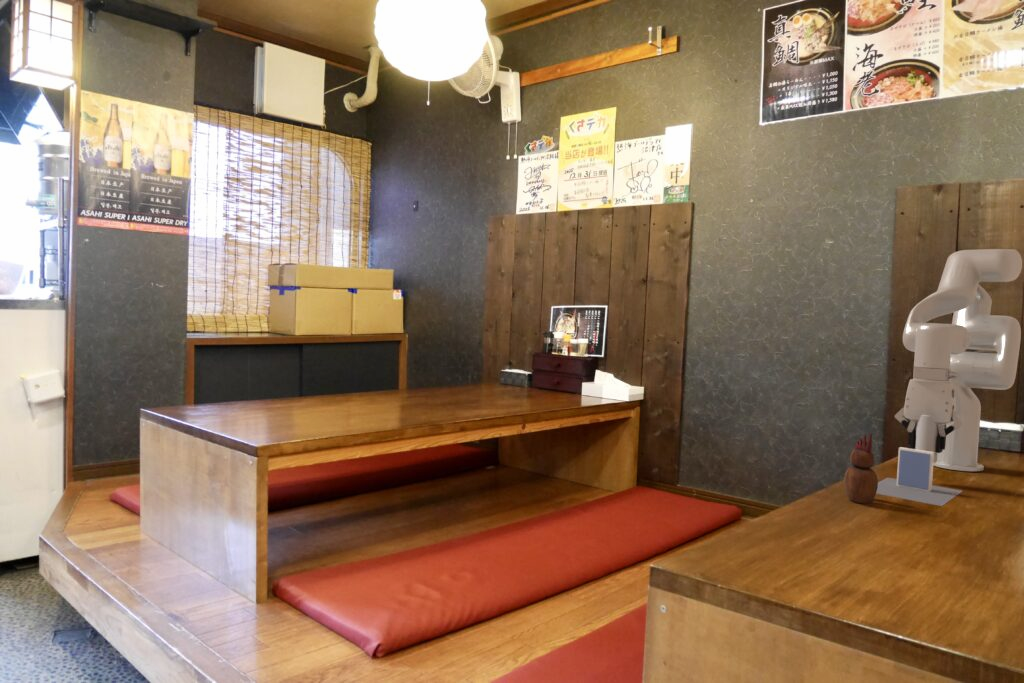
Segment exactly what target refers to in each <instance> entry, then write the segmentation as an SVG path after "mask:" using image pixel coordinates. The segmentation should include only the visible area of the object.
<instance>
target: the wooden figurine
mask: <svg viewBox="0 0 1024 683" xmlns="http://www.w3.org/2000/svg"><path fill="white" fill-rule="evenodd" d="M872 442H873V434H872V433H870V434H869V436H868V439H867V435H866V434H864V435H863V438H860V439H859V441H856V442H855V446H854V449H853V450H852V451H851V453H850V456H849V459H850V460H849V461H850V463H851V466H849V467H848V468H847V470H845V473H844V478H843V484H844V490H845V493H846V496H847V498H848V499H849V500H850V501H851V502H854V503H857V504H870V503H871V502H873V501H874V499H875V497H876V495H877V494H876V492H877V487H878V482H879V481H878V476H877V473H876V472H875V470H874V469H873V468H872V467H874V464H875V454H874V453H873V451H872V445H873V444H872Z"/></svg>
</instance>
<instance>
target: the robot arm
mask: <svg viewBox="0 0 1024 683" xmlns="http://www.w3.org/2000/svg"><path fill="white" fill-rule="evenodd" d="M1022 270H1023V259H1022V256H1021V253H1020V252H1019V251H1018V250H1017V249H1014V248H1012V249H1011V248H1009V249H1007V248H1006V249H1005V248H1004V249H1003V248H989V249H988V248H987V249H986V248H985V249H983V248H981V249H962V250H958V251H954V252H953V253H951V254H949V255H948V257H947V259H946V262H945V265H944V269H943V272H942V274H941V279H940V281H939V284H938V288H937V290H936V291H935V292H933V293H931V294H929V295H928V296H926V297H925V298H924V299H922V300H921V301H919V302H918V303H917V304H916V305H915V306H914V307H913V308H912V309H911V310H910V312H909V314H908V317H907V320H906V322H905V326H904V329H903V333H902V344H903V346H904V348H905V349H906V350H908V351H910V352H913V353H914V358H913V359H914V361H913V370H912V371H913V374H912V378H911V379H909V381H908V385H907V389H906V393H905V394H906V395H905V398H904V400H905V401H904V405H903V407H902V408H901V409H900V410H899V411H897V412H896V414H894V418H895V419H896V420H897V421H898V422H899V423H900V424H901V425H902V426H903V427H904V428H905V430H906V431H907V432H908V441H907V442H908V443H907V444H908V446H910V449H915V437H916V422H917V421H918V420H920V417H921V415H928V416H931V418H932V421H933V422H934V423H937V425H938V430H939V436H937V443H936V452H937V453H938V455H937V461H936V462H935V463H933V467H938V468H942V469H947V470H953V471H958V472H959V471H961V472H983V471H984V468H985V466H984V465H983V464H981V463H978V455H979V443H980V441H979V438H980V426H981V413H982V412H981V410H982V406H981V404H982V403H981V402H980V399H979V398H978V397H977V395H976V394H975V393H974V391H973V390H972V389H984V390H985V389H986V390H987V389H988V390H999V391H1005V390H1008V389H1010V388H1012V387H1013V385H1014V384H1015V382H1016V381H1015V380H1016V375H1017V369H1018V362H1019V354H1020V349H1021V348H1020V346H1021V341H1022V340H1021V337H1022V328H1021V325H1020V322H1019V321H1018V319H1016V318H1015V317H1013V316H1010V315H1009V316H1008V315H999V314H998V315H997V314H995V315H993V314H992V315H991V310H992V303H993V301H992V298H991V296H990V295H989V293H988V292H987V291H986V289H985V288H984V287H982V286H981V284H979V283H995V282H996V283H1009V282H1013V281H1015V280H1017V278H1019V276H1020V274H1021V272H1022ZM949 314H953V315H952V320H951V323H942V322H941V323H940V322H938V323H937V322H929V321H931V320H934V319H936V318H938V317H942V316H945V315H949ZM967 350H977V351H967ZM978 350H979V351H980V350H981V351H995V352H996V353H993V352H991V353H990V352H978ZM925 413H928V414H925Z"/></svg>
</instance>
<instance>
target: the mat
mask: <svg viewBox="0 0 1024 683" xmlns="http://www.w3.org/2000/svg"><path fill="white" fill-rule="evenodd" d="M896 482H897V478H892V477H886V478H884V479H881V481H878V487H877V492H876V495H881V496H887V497H892V498H897V499H903V500H907V501H913V502H917V503H923V504H927V505H928V504H929V505H933V506H938V507H943V506H944V505H946V504H947V503H948V502H950V501H951V500H953V499H954V498H955V497H957V496H958V495H959V494H961V493H963V490H962V489H961V490H960V489H953V488H950V487H949V488H948V487H944V486H943V487H942V486H939V485H933V484H932V491H930V492H928V491H922V490H917V489H911V488H906V487H900V486H896Z"/></svg>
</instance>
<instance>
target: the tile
mask: <svg viewBox="0 0 1024 683" xmlns="http://www.w3.org/2000/svg"><path fill="white" fill-rule="evenodd" d="M897 454H898V455H897V469H896V470H897V471H896V479H897V482H896V486H900V487H906V488H911V489H917V490H922V491H928V492H930V491H932V485H933V479H934V478H933V477H934V465H933V463H934V452H931V451H924V450H917V449H910V448H909V447H902V446H900V447H898V453H897Z"/></svg>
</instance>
